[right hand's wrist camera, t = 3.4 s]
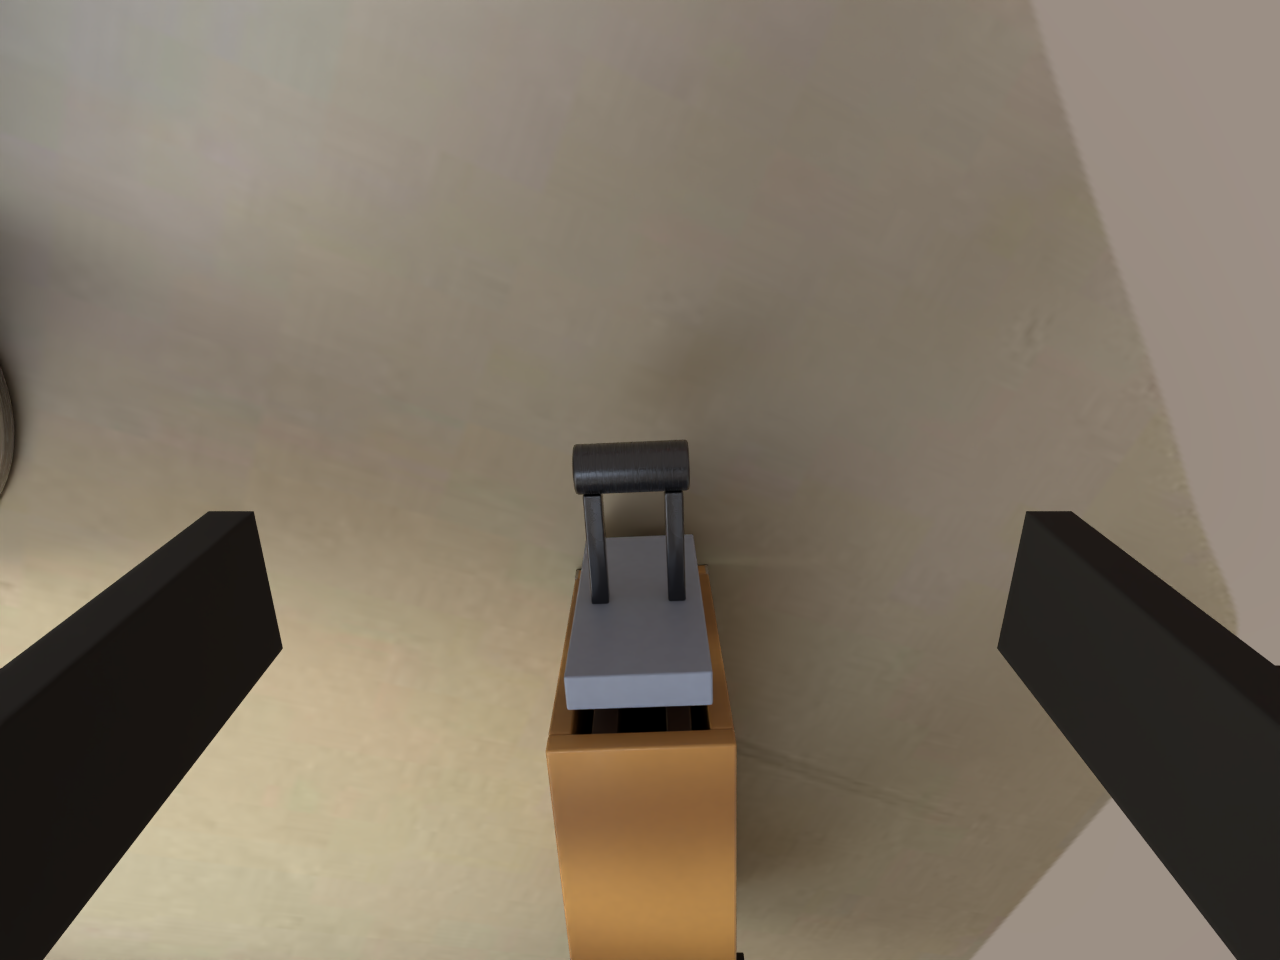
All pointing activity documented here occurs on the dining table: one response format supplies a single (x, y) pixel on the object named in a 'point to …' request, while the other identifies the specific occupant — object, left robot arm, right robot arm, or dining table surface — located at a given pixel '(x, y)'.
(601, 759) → the cabinet
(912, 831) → the dining table surface
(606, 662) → the drawer
